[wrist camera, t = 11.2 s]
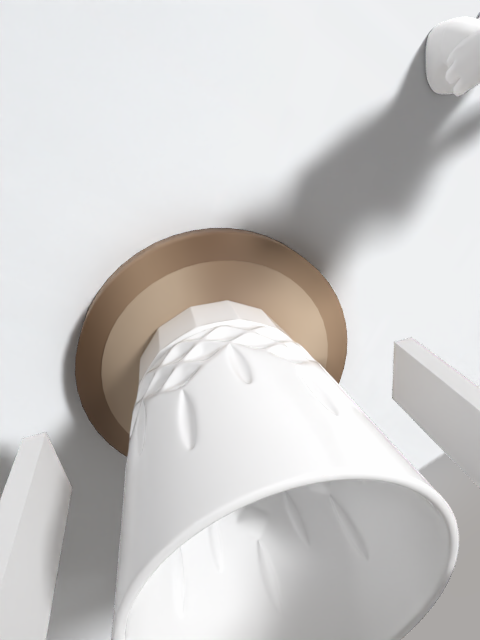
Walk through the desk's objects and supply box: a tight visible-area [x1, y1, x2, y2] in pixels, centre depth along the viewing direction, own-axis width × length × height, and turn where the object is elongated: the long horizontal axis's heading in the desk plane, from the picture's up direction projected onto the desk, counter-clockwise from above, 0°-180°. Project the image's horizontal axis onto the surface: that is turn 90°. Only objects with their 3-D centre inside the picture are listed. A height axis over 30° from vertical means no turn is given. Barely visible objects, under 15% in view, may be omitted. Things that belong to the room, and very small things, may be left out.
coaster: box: [75, 228, 347, 456], centre depth 18 cm, size 12×12×1 cm
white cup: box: [111, 300, 459, 640], centre depth 13 cm, size 8×8×10 cm
